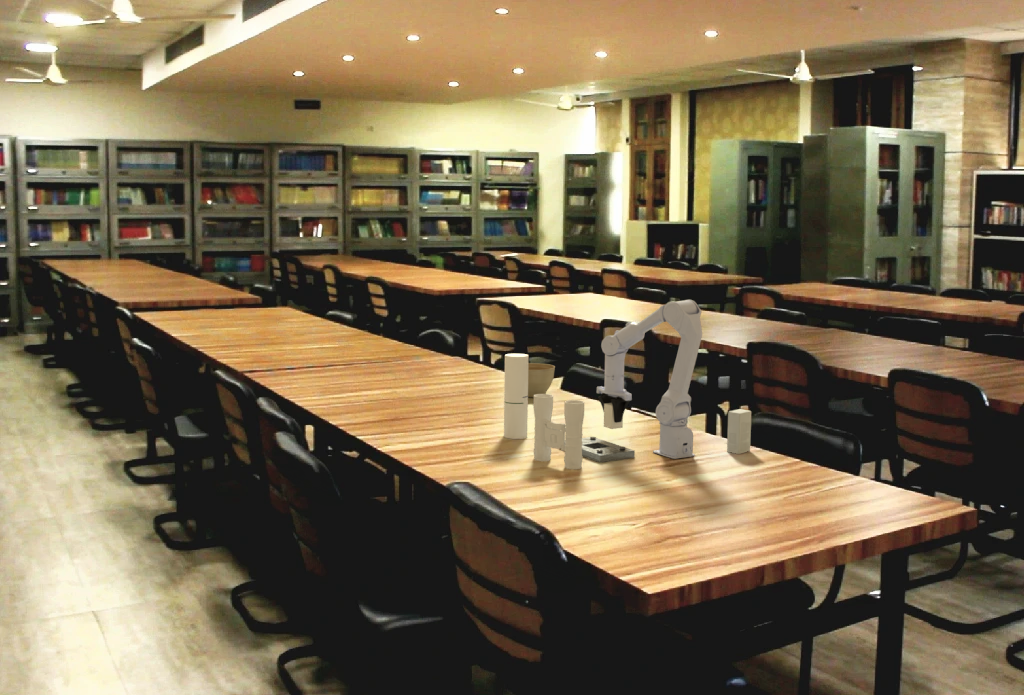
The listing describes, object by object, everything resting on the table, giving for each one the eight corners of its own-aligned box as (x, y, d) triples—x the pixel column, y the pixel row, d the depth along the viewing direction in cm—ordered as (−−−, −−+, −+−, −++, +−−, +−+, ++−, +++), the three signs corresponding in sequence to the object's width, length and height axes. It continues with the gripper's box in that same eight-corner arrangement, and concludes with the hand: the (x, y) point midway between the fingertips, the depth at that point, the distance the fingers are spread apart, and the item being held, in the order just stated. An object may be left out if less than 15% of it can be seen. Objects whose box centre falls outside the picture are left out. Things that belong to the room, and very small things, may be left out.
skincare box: (737, 448, 312) (739, 408, 311) (750, 451, 309) (752, 410, 308) (726, 451, 308) (727, 411, 306) (738, 454, 305) (740, 413, 303)
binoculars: (528, 459, 297) (529, 395, 294) (542, 456, 300) (543, 393, 298) (573, 470, 284) (574, 404, 282) (587, 467, 288) (588, 402, 286)
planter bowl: (527, 389, 404) (527, 361, 403) (562, 394, 395) (563, 365, 393) (501, 395, 391) (502, 366, 390) (538, 401, 382) (538, 371, 380)
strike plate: (634, 457, 300) (634, 448, 299) (600, 462, 294) (600, 453, 293) (592, 443, 317) (592, 434, 316) (559, 447, 310) (559, 439, 310)
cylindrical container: (532, 436, 325) (533, 355, 321) (516, 440, 320) (517, 357, 316) (514, 432, 330) (516, 352, 326) (498, 436, 324) (499, 355, 321)
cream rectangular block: (622, 427, 317) (623, 404, 316) (611, 429, 315) (612, 405, 314) (614, 425, 320) (614, 402, 319) (603, 426, 318) (604, 403, 317)
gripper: (640, 378, 311) (639, 423, 313) (610, 371, 323) (609, 415, 325) (621, 380, 308) (620, 426, 309) (591, 372, 320) (590, 417, 322)
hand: (613, 420), depth 317 cm, fingers closed on cream rectangular block, 4 cm apart
